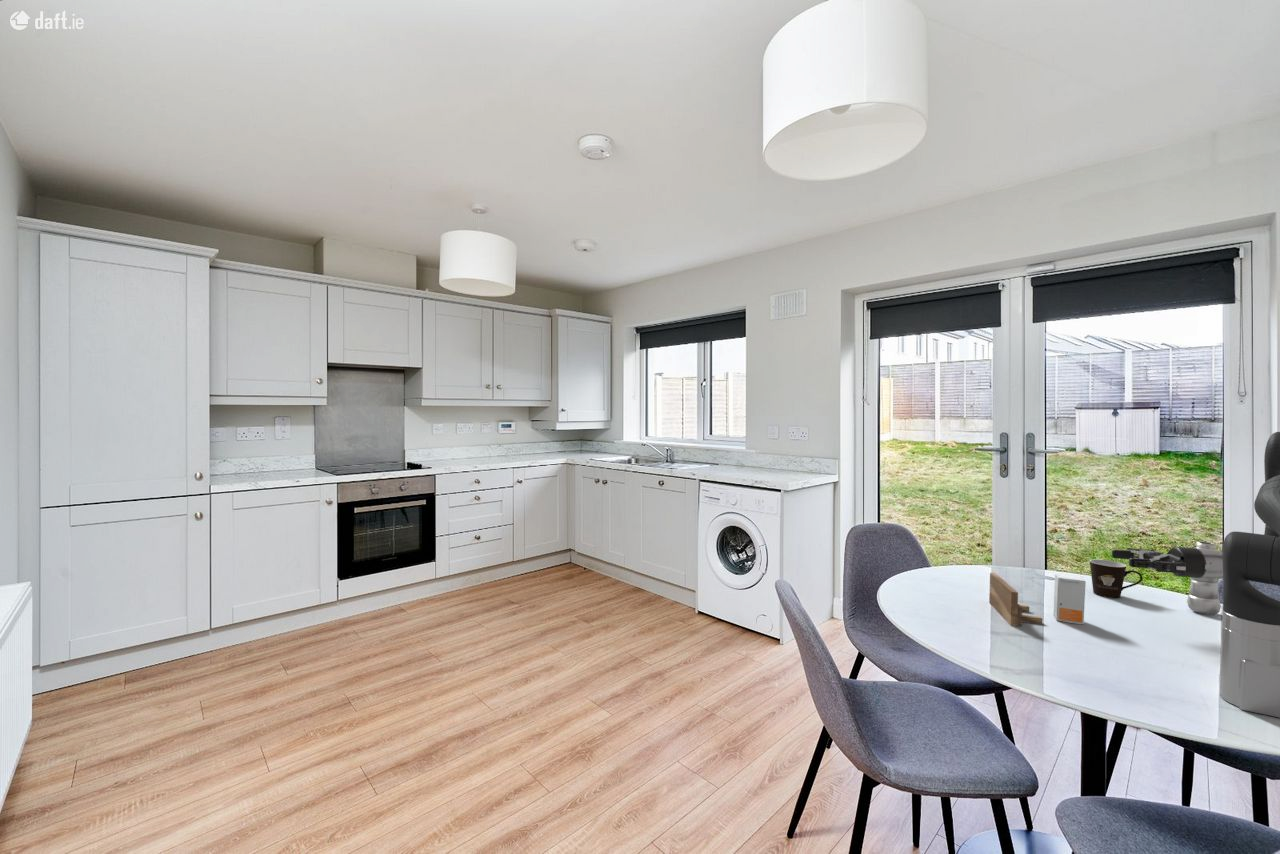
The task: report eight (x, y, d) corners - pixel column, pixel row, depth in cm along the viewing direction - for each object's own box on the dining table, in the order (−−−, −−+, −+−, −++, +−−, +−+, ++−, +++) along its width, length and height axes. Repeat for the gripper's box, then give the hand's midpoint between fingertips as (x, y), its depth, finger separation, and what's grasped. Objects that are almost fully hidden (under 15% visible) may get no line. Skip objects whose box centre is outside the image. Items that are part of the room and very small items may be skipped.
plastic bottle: (1227, 618, 150) (1230, 546, 149) (1198, 616, 151) (1200, 545, 151) (1208, 609, 156) (1210, 540, 155) (1180, 608, 157) (1182, 539, 157)
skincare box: (1056, 621, 147) (1057, 577, 147) (1053, 615, 151) (1054, 573, 151) (1084, 625, 144) (1086, 580, 144) (1080, 619, 148) (1081, 576, 148)
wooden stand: (1022, 605, 159) (1023, 575, 158) (1048, 629, 141) (1049, 595, 141) (989, 602, 161) (990, 572, 161) (1010, 625, 144) (1011, 591, 144)
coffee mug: (1082, 592, 171) (1083, 561, 170) (1097, 588, 174) (1098, 558, 174) (1128, 604, 160) (1129, 571, 160) (1143, 600, 164) (1144, 567, 163)
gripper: (1180, 541, 146) (1107, 537, 151) (1218, 555, 132) (1136, 550, 137) (1179, 569, 146) (1106, 564, 151) (1217, 586, 132) (1135, 580, 137)
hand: (1120, 558), depth 144 cm, fingers open, 8 cm apart
